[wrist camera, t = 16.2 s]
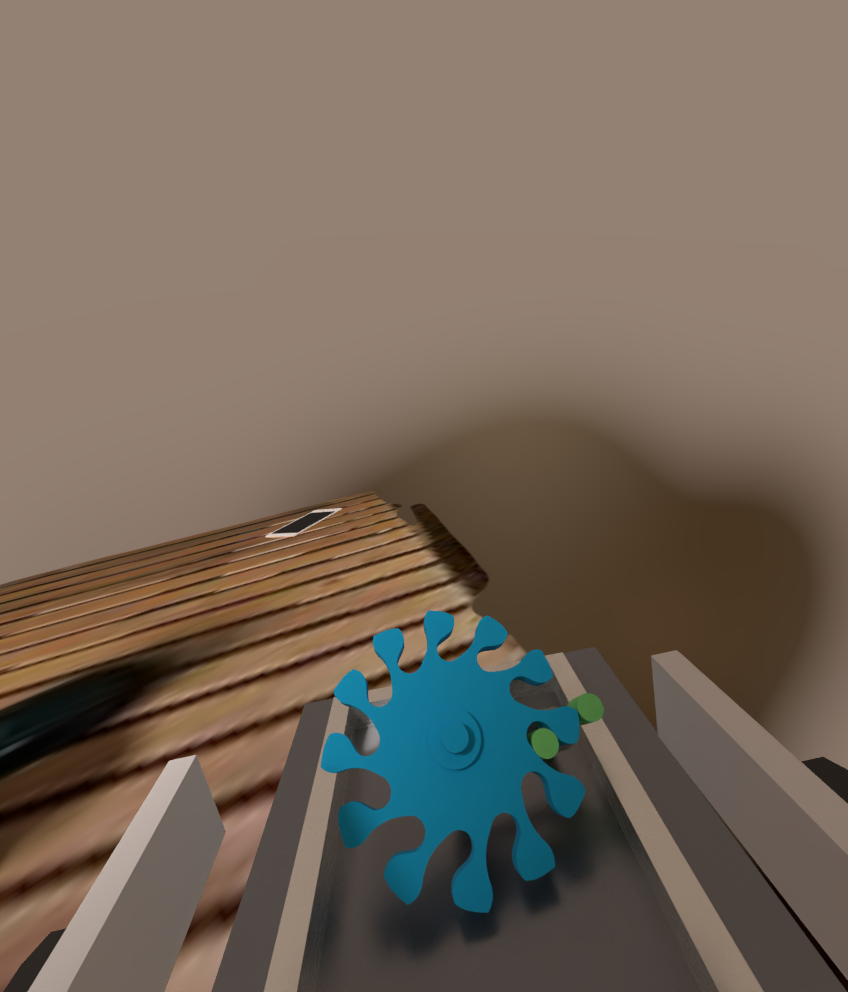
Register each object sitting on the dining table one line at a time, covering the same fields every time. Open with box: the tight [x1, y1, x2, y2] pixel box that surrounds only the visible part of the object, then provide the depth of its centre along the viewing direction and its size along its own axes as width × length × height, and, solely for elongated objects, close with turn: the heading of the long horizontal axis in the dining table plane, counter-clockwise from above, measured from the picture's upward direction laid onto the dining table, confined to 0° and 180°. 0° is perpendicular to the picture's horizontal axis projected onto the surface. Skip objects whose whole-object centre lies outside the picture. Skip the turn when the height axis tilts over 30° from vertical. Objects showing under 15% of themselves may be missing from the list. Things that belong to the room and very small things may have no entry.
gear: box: [321, 611, 604, 913], centre depth 19 cm, size 11×6×10 cm
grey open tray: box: [212, 647, 847, 992], centre depth 18 cm, size 18×20×6 cm
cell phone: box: [265, 508, 342, 538], centre depth 92 cm, size 8×16×1 cm, turn 155°
